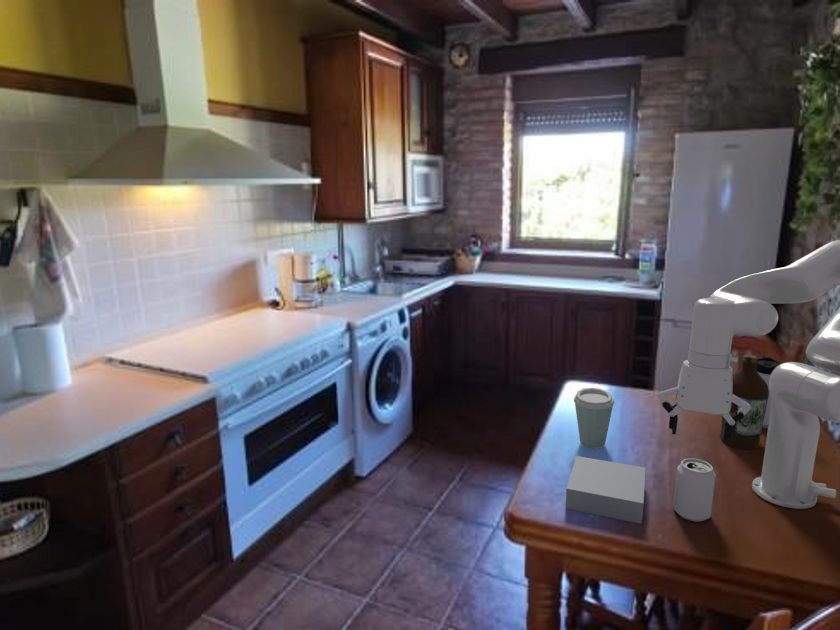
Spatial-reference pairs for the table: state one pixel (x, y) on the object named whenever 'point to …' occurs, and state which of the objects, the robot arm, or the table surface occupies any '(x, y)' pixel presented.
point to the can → (694, 489)
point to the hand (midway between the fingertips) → (698, 435)
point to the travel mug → (766, 380)
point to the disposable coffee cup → (593, 416)
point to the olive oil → (756, 394)
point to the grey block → (606, 489)
